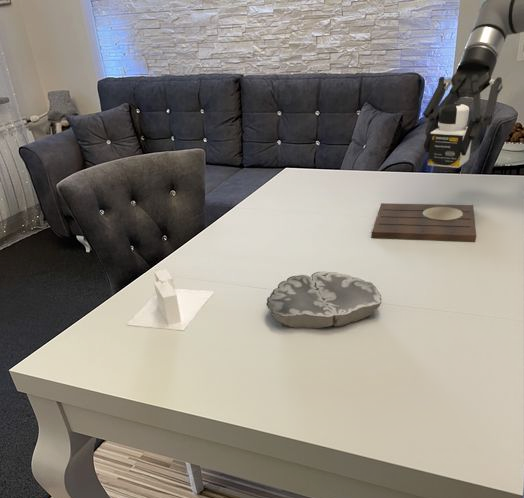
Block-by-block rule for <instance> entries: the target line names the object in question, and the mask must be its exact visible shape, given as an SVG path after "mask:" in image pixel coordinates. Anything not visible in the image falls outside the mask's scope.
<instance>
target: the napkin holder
mask: <svg viewBox="0 0 524 498" xmlns="http://www.w3.org/2000/svg"><path fill="white" fill-rule="evenodd" d="M154 276H155V281H154V282H153V286H154V289H155V290H154V291H155V295H153V296H152V297H151V298H150V299H149V301H148V302H147V303H146V304H145V305H144V306H143V307H142V308H141V309H140V310H139V311H138V312H137V313H136V314H135V315H134V316H133V317H132V318H131V319H130V320H129V322H127V323H126V326H131V327H132V326H133V327H141V328H153V329H162V330H163V329H164V330H172V331H173V330H175V331H185V330H186V328H188V326H189V325H190V323H191V322H192V321H193V320H194V318H195V317H196V316H197V314H198V313H199V312H200V311H201V309H202V308H203V307H204V306H205V304H206V303H207V301H208V300H209V299H210V297H211V296H212V295H213V294H214V293H215V291H213V290H202V289H201V290H198V289H186V288H175V282H174V277H173V276H172V274H171V273H170V272H169V270H168V269H167V268H165V269H161V270H156V271H154Z"/></svg>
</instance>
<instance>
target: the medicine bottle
mask: <svg viewBox="0 0 524 498" xmlns="http://www.w3.org/2000/svg"><path fill="white" fill-rule="evenodd" d="M469 114H470V107H469V106H468V105H466V104H463V103H454V104H448V105H445V106H443V107H441V108H440V111H439V121H438V126H439V128H437V129H436V130H434V131H432V132H431V133H430V143H429V152H428V154H427V165H428V166H432V167H444V168H454V169H459V168H460V167H461V166H463V165H465V163H467V162H468V161H469V160H470V155H471V146H472V141H471V142H470V144H469V147H468V150H467V152H466V155H462V154H461V150H460V146H461V144H462V141H463V139H464V136H465V133H466V131H467V128H468V124H469Z"/></svg>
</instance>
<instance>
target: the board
mask: <svg viewBox="0 0 524 498" xmlns="http://www.w3.org/2000/svg"><path fill="white" fill-rule="evenodd" d="M474 210H475V209H474V205H473V204H441V203H439V204H438V203H437V204H436V203H432V204H431V203H385V202H384V203H383V202H381V203H380V204H379V208H378V210H377V214H376V217H375V220H374V224H373V225H372V226H373V227H372V230H371V236H370V237H371V239H391V240H413V241H415V240H419V241H441V242H442V240H443V242H471V243H472V242H473V243H475V242H476V240H477V228H476V220H475V219H476V218H475V213H474V212H475V211H474Z"/></svg>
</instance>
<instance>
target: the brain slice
mask: <svg viewBox="0 0 524 498" xmlns="http://www.w3.org/2000/svg"><path fill="white" fill-rule="evenodd" d="M265 304H266V307H267V308H268V310H269V311H270V314H271V316H272V317H273V318H274V319H276V320H277V322H279V323H280V324H283V325H284V326H288V327H291V328H294V329H299V328H302V329H322V328H323V329H324V328H330V327H331V326H334V327H341V326H346V325H348V324H350V323H355V322H357V321H361V320H362V319H365V318H368V317H370V316H372V314H374V313H375V311H377V310H378V309H379V307H380V306H381V304H382V294H381V293H380V292H379V291H378V288H377V287H376V285H374V284H373V283H372V282H370V281H365V280H363V279H361V278H359V277H353V276H351V275H349V274H343V273H339V272H334V271H330V272H328V271H316V272H314V273H311V275H307V274H299V275H292V276H289V277H287V278H286V280H283V281H281V282H279V283H278V284H277V287H276V288H274V289H273V290H272V292H271V293H270V295H269V296H268V297H267V298H266V303H265Z"/></svg>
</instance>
